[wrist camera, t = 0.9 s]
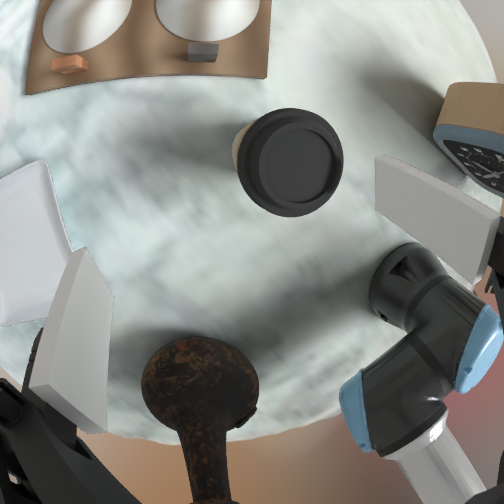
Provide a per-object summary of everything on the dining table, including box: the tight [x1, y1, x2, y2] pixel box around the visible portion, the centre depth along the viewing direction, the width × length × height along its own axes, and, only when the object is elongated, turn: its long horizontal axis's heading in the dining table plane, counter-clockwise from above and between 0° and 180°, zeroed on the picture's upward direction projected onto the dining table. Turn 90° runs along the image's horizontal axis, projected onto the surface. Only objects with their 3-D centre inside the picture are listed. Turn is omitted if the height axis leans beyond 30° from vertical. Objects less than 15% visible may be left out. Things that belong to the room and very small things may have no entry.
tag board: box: [25, 0, 272, 95], centre depth 22 cm, size 30×18×6 cm, turn 87°
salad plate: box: [0, 159, 74, 326], centre depth 31 cm, size 21×21×3 cm
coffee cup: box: [232, 108, 343, 217], centre depth 28 cm, size 9×9×15 cm
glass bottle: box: [141, 337, 259, 504], centre depth 33 cm, size 18×18×28 cm
